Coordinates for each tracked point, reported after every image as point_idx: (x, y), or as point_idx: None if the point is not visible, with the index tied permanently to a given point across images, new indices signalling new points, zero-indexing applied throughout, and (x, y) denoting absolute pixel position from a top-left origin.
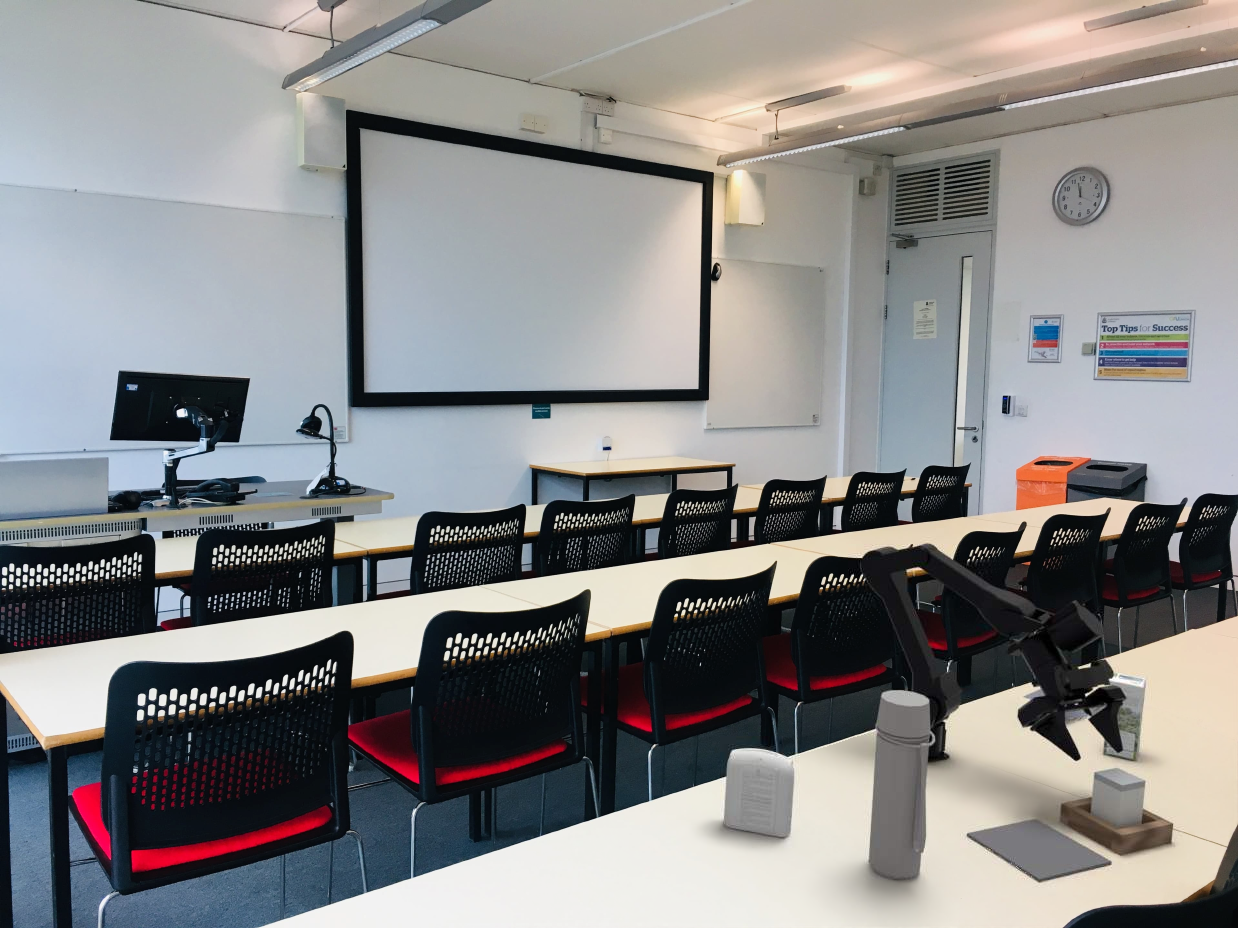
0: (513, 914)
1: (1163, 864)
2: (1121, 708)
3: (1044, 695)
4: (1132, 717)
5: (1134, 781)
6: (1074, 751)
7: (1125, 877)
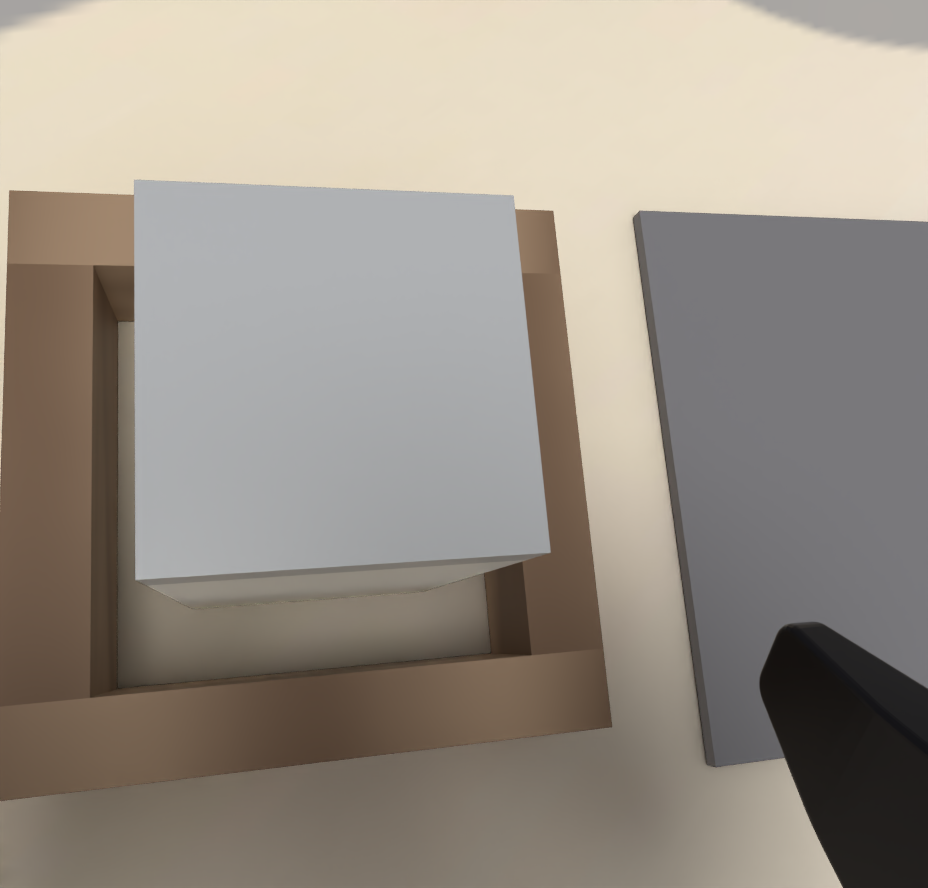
0: None
1: (359, 109)
2: None
3: None
4: None
5: (287, 215)
6: (913, 687)
7: (660, 108)
